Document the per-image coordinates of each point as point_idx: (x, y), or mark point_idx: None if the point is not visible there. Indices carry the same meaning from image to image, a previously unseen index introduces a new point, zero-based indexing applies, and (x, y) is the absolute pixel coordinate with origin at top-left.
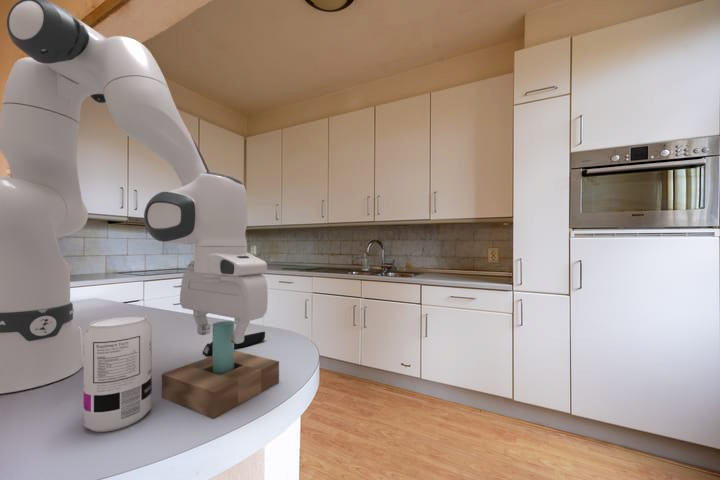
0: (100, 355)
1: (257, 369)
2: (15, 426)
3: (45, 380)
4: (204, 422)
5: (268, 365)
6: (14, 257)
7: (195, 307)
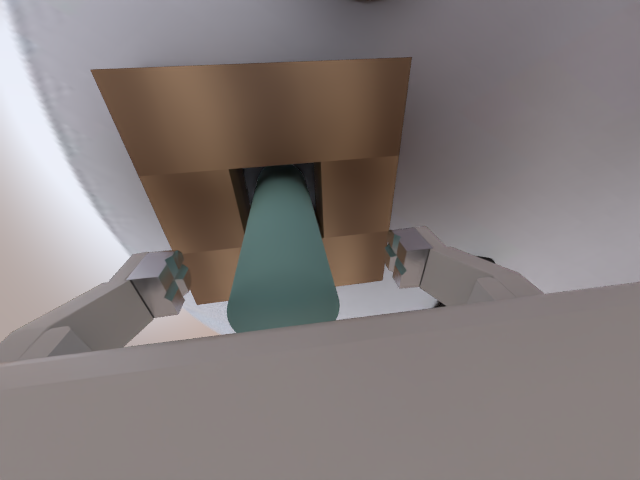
0: None
1: (183, 250)
2: None
3: None
4: (135, 45)
5: None
6: None
7: (524, 316)
